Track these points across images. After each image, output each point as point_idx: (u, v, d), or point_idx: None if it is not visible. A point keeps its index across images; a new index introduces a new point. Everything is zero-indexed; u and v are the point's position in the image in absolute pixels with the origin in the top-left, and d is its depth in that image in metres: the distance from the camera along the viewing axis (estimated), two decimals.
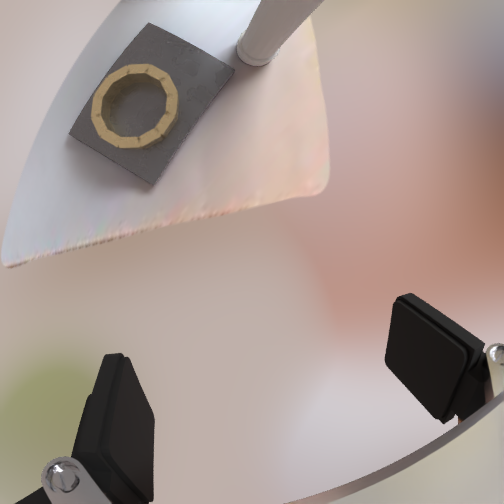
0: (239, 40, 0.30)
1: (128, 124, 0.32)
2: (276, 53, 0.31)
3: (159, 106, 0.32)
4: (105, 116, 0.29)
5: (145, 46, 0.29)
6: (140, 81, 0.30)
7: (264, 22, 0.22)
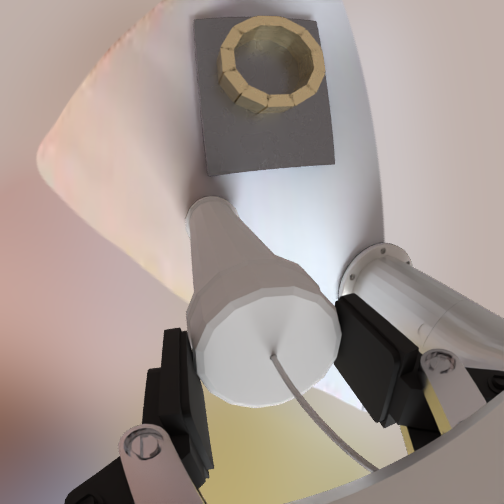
0: (234, 209, 0.30)
1: (263, 52, 0.26)
2: (188, 230, 0.29)
3: (248, 84, 0.27)
4: (292, 42, 0.25)
5: (315, 135, 0.30)
6: None
7: (227, 218, 0.20)
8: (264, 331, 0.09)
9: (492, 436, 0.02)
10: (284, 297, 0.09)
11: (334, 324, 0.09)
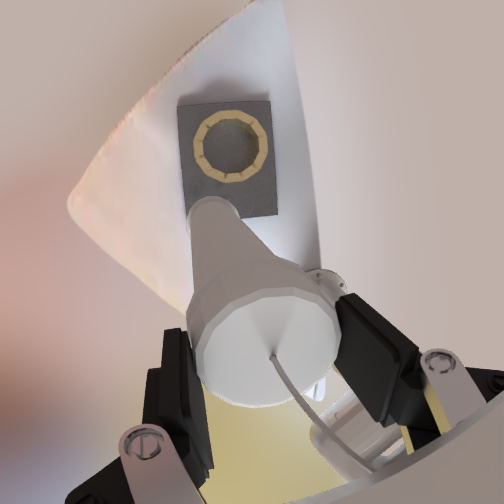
0: (234, 209, 0.30)
1: (227, 133, 0.41)
2: (188, 230, 0.29)
3: (215, 159, 0.42)
4: (247, 126, 0.40)
5: (263, 194, 0.45)
6: (243, 167, 0.43)
7: (228, 218, 0.20)
8: (264, 331, 0.09)
9: (492, 436, 0.02)
10: (284, 297, 0.09)
11: (334, 324, 0.09)
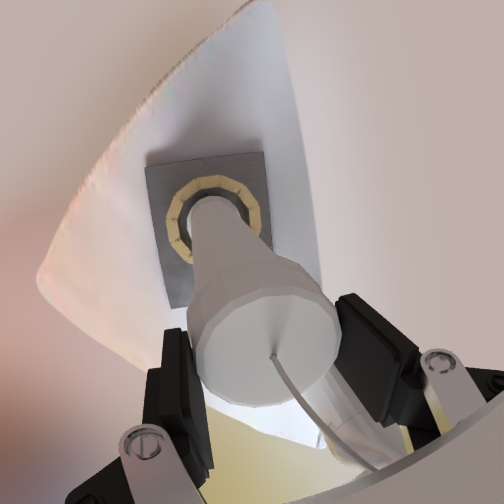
0: (235, 208, 0.30)
1: None
2: (189, 230, 0.29)
3: None
4: (234, 192, 0.33)
5: None
6: None
7: (228, 217, 0.20)
8: (264, 330, 0.09)
9: (492, 436, 0.02)
10: (284, 296, 0.09)
11: (334, 324, 0.09)
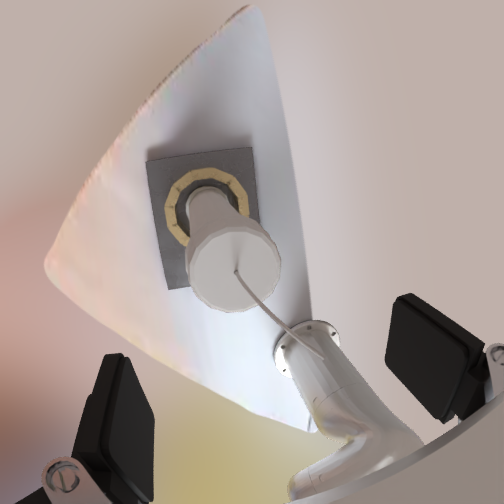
0: (225, 196, 0.36)
1: None
2: (187, 213, 0.36)
3: None
4: (225, 183, 0.36)
5: None
6: None
7: (217, 199, 0.27)
8: (229, 253, 0.16)
9: (492, 436, 0.02)
10: (240, 232, 0.15)
11: (274, 253, 0.16)
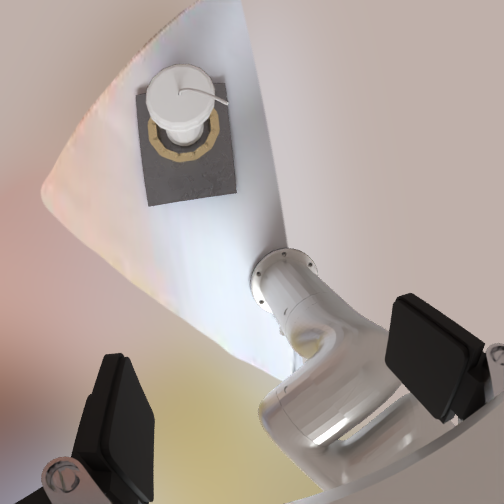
0: None
1: None
2: (167, 132, 0.39)
3: (172, 142, 0.42)
4: None
5: (220, 173, 0.45)
6: (199, 147, 0.42)
7: None
8: (175, 80, 0.18)
9: (492, 436, 0.02)
10: (184, 67, 0.18)
11: (208, 81, 0.19)
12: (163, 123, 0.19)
